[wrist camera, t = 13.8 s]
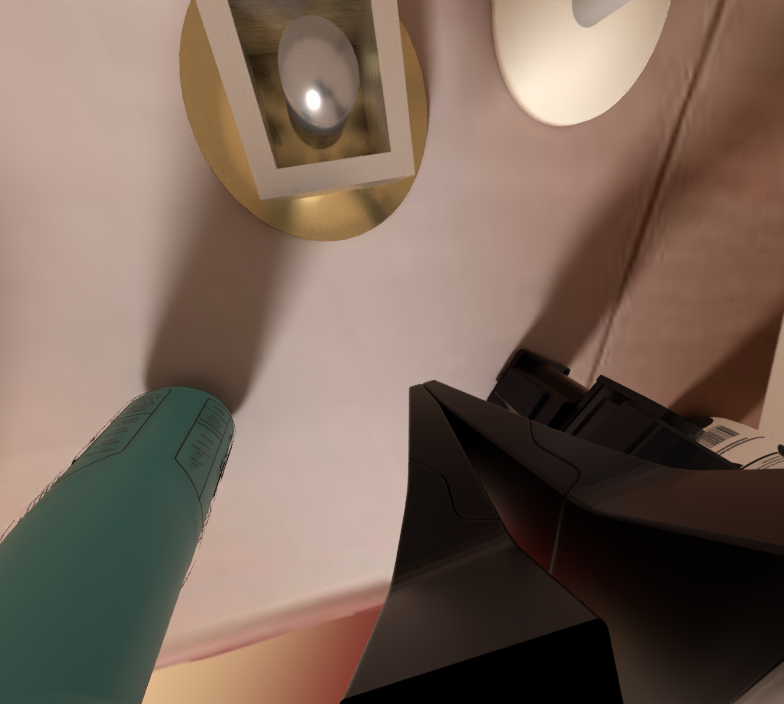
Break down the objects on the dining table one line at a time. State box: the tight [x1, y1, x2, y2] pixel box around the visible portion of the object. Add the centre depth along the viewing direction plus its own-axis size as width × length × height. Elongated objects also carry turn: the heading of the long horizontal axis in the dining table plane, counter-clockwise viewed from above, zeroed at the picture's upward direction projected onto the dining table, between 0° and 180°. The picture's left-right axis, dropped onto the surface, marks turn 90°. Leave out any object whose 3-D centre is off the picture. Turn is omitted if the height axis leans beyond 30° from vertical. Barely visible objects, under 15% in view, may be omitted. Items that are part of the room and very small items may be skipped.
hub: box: [179, 0, 427, 241], centre depth 13 cm, size 12×12×6 cm
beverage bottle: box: [0, 386, 235, 704], centre depth 12 cm, size 6×7×20 cm
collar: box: [196, 0, 415, 204], centre depth 13 cm, size 7×7×4 cm
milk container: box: [690, 417, 784, 470], centre depth 32 cm, size 17×17×18 cm
